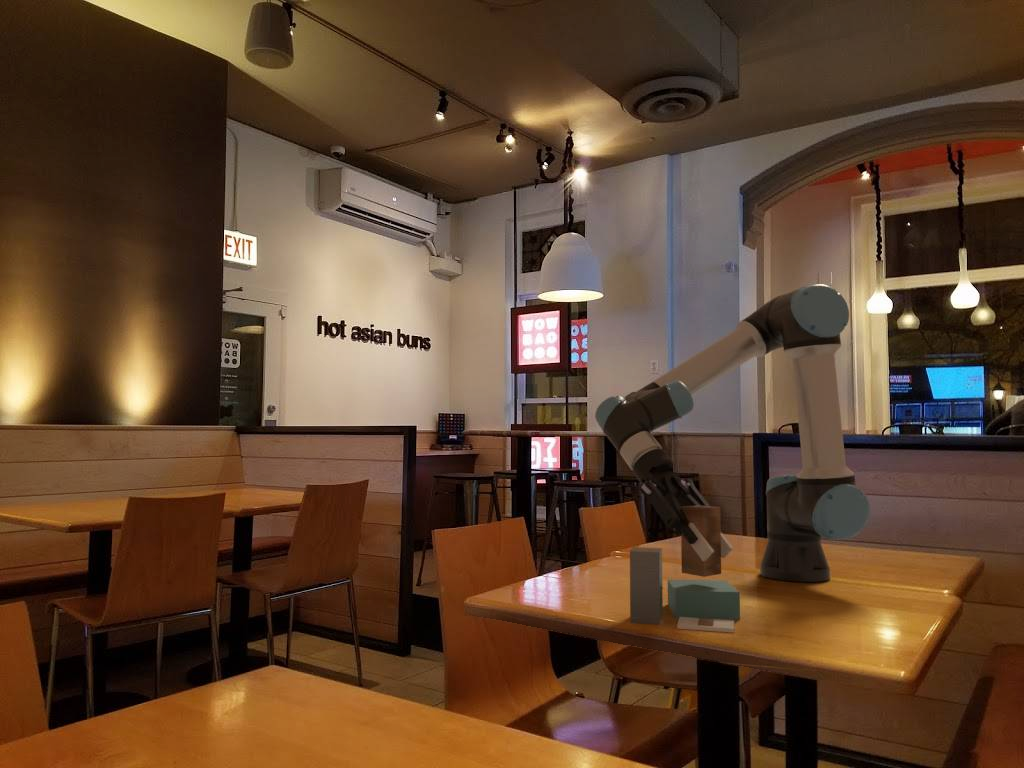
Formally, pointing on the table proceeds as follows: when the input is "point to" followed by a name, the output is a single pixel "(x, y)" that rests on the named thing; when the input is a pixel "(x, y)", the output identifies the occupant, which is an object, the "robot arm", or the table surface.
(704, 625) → the card
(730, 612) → the teal pedestal
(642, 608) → the grey metal block
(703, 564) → the walnut block
